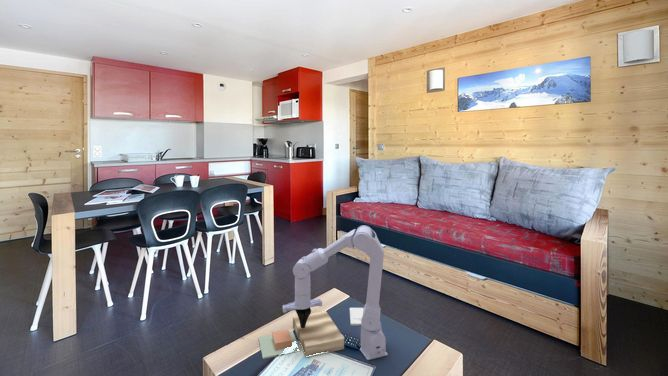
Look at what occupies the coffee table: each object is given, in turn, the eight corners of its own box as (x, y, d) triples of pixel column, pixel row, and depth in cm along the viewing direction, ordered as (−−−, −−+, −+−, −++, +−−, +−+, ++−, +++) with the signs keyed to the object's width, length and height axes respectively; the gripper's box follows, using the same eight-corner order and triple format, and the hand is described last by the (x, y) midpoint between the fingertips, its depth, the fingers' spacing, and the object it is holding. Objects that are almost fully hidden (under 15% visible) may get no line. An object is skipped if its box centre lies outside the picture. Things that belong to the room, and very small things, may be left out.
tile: (275, 343, 108) (275, 350, 109) (292, 340, 110) (292, 346, 111) (272, 332, 115) (272, 338, 115) (288, 329, 117) (288, 335, 117)
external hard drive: (367, 311, 138) (370, 327, 125) (349, 311, 138) (350, 327, 125) (367, 307, 138) (371, 323, 125) (349, 307, 138) (350, 323, 125)
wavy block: (344, 348, 111) (344, 338, 110) (306, 357, 106) (306, 346, 105) (325, 319, 129) (325, 310, 129) (292, 326, 124) (292, 316, 124)
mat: (300, 351, 109) (300, 349, 109) (262, 359, 105) (262, 357, 105) (292, 332, 120) (292, 330, 120) (258, 339, 116) (258, 337, 116)
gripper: (318, 284, 120) (318, 317, 121) (280, 290, 114) (281, 324, 116) (324, 292, 113) (323, 327, 115) (284, 298, 108) (284, 335, 110)
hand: (302, 326), depth 115 cm, fingers closed
